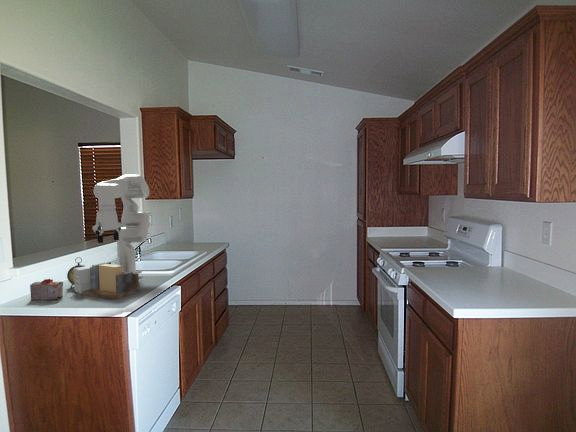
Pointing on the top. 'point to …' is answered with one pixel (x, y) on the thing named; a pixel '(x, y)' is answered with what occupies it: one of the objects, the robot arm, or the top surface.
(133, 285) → the shelf
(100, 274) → the book
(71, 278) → the alarm clock
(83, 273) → the supplement box
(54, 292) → the food item
